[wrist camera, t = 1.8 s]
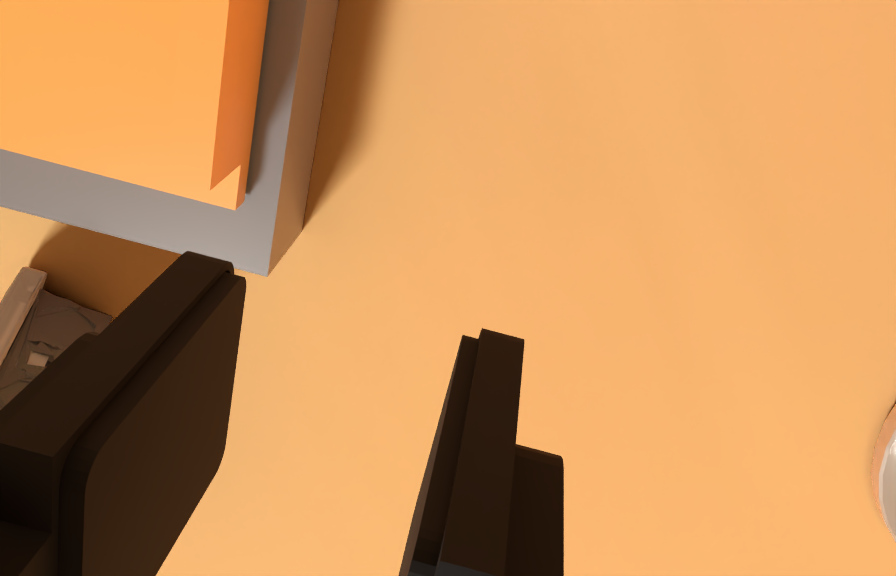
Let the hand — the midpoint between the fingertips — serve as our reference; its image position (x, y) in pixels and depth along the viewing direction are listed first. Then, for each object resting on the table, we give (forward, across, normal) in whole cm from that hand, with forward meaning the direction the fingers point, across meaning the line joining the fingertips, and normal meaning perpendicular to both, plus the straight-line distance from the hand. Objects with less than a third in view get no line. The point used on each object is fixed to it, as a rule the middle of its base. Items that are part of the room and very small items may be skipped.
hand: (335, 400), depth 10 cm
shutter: (+15, +10, 0) cm, 18 cm away
